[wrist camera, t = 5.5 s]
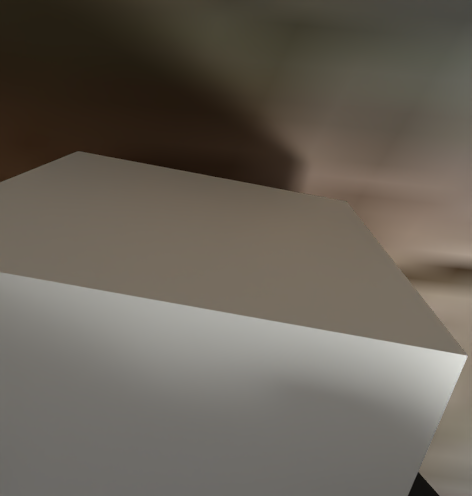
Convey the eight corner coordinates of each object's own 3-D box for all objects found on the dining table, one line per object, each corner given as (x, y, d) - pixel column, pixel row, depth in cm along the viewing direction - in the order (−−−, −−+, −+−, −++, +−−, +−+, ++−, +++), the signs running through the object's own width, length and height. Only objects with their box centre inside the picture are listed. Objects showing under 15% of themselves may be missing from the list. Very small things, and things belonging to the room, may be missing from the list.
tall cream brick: (267, 486, 13) (279, 795, 7) (60, 451, 13) (-89, 741, 7) (346, 201, 10) (467, 354, 4) (78, 151, 10) (-156, 244, 4)
